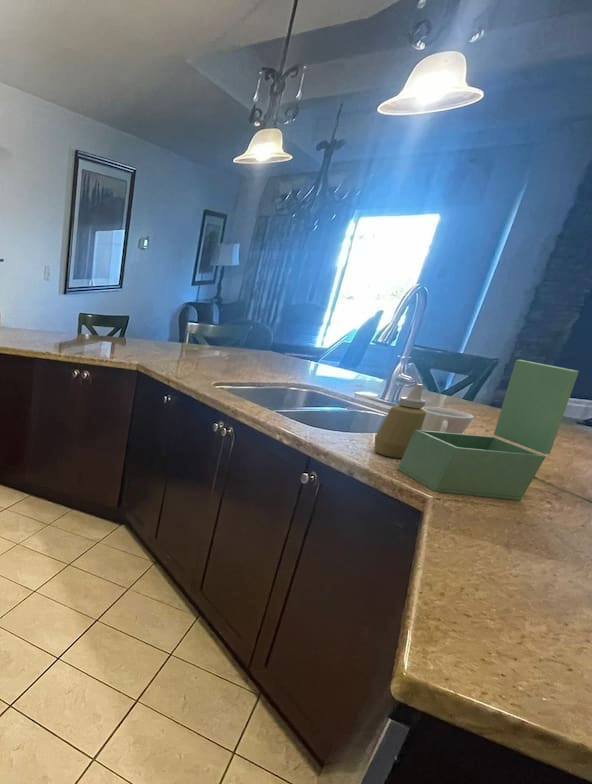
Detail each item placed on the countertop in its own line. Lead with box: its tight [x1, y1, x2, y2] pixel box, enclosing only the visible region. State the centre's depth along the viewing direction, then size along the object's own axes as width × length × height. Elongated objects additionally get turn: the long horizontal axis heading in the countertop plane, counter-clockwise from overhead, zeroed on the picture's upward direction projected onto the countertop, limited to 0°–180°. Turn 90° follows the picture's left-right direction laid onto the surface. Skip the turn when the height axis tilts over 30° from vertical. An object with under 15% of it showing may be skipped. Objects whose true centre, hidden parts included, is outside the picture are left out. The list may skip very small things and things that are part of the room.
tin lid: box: [493, 359, 580, 455], centre depth 99 cm, size 16×13×1 cm
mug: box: [421, 406, 475, 434], centre depth 127 cm, size 10×15×10 cm
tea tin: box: [396, 430, 547, 501], centre depth 105 cm, size 16×13×10 cm
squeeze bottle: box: [374, 383, 427, 459], centre depth 120 cm, size 8×8×18 cm
